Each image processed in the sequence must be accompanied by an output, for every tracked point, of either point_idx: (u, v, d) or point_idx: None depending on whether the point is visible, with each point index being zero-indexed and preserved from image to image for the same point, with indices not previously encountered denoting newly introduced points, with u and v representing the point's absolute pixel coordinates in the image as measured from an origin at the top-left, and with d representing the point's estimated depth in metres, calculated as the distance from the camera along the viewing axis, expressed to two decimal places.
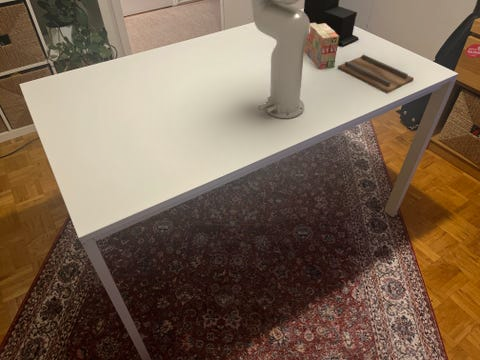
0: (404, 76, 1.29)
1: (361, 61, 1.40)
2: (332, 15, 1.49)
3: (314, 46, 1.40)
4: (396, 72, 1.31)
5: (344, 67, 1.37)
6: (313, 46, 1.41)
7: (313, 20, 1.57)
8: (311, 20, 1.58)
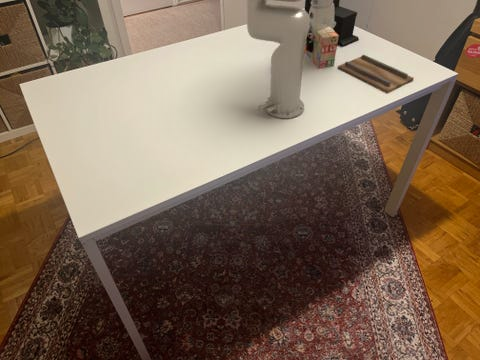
0: (404, 76, 1.29)
1: (361, 61, 1.40)
2: None
3: (314, 46, 1.40)
4: (396, 72, 1.31)
5: (344, 67, 1.37)
6: (313, 45, 1.41)
7: None
8: None
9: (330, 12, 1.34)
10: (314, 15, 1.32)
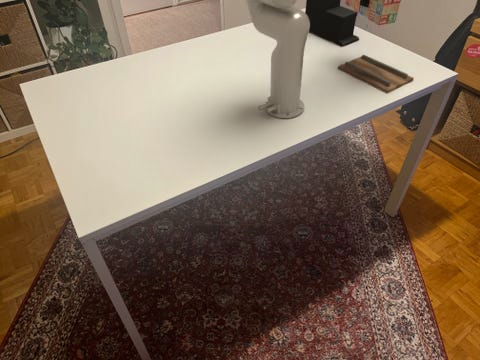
0: (404, 76, 1.29)
1: (361, 61, 1.40)
2: (332, 14, 1.49)
3: None
4: (396, 72, 1.31)
5: (344, 67, 1.37)
6: None
7: (314, 19, 1.58)
8: (313, 19, 1.59)
9: None
10: None
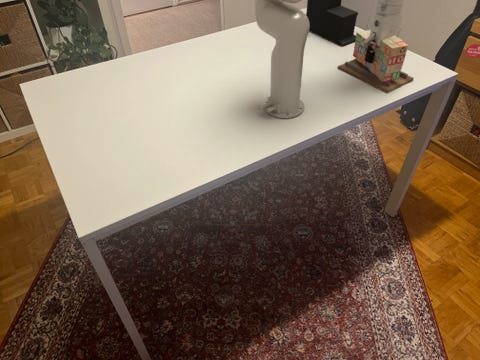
0: (404, 76, 1.29)
1: None
2: (332, 14, 1.49)
3: (377, 57, 1.26)
4: None
5: (344, 67, 1.37)
6: (374, 56, 1.27)
7: (315, 18, 1.58)
8: (314, 19, 1.59)
9: (397, 20, 1.20)
10: (380, 23, 1.18)
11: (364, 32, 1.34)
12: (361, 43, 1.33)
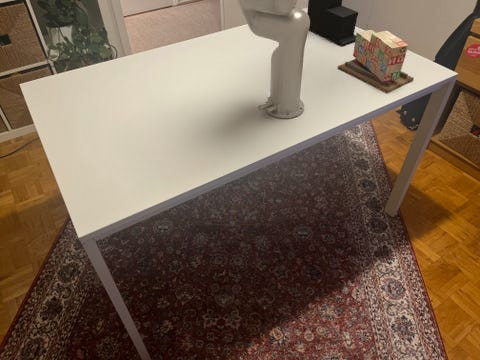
0: (404, 76, 1.29)
1: None
2: (333, 14, 1.49)
3: (377, 57, 1.26)
4: None
5: (344, 67, 1.37)
6: (374, 56, 1.27)
7: (315, 18, 1.59)
8: (314, 18, 1.59)
9: None
10: None
11: (364, 32, 1.34)
12: (361, 43, 1.33)
